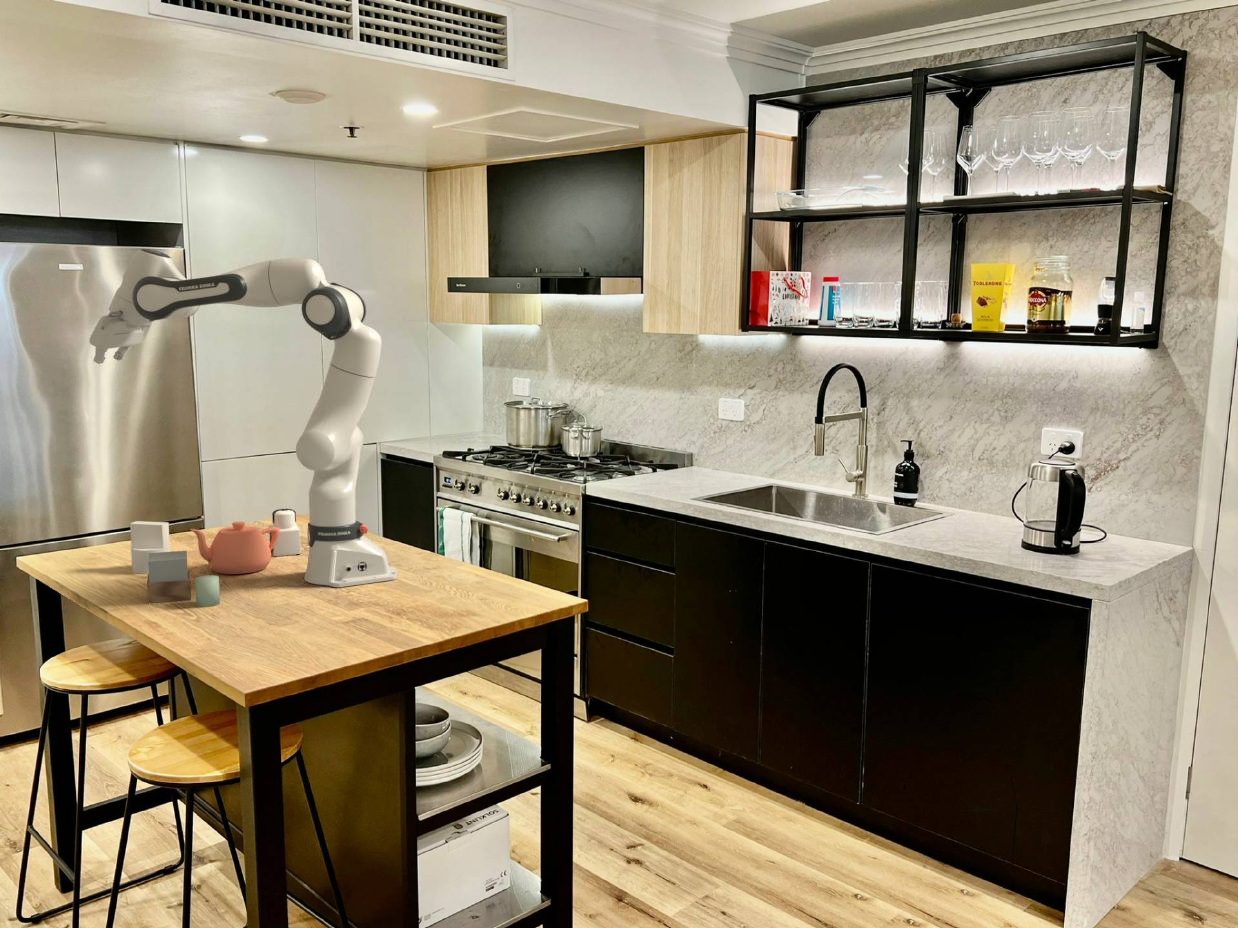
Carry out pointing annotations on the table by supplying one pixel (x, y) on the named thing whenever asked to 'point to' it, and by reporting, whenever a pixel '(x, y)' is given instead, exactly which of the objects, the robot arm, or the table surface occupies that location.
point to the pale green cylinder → (207, 591)
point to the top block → (168, 566)
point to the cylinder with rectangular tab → (147, 543)
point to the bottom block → (169, 591)
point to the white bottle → (286, 533)
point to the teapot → (238, 548)
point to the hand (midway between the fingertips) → (107, 360)
